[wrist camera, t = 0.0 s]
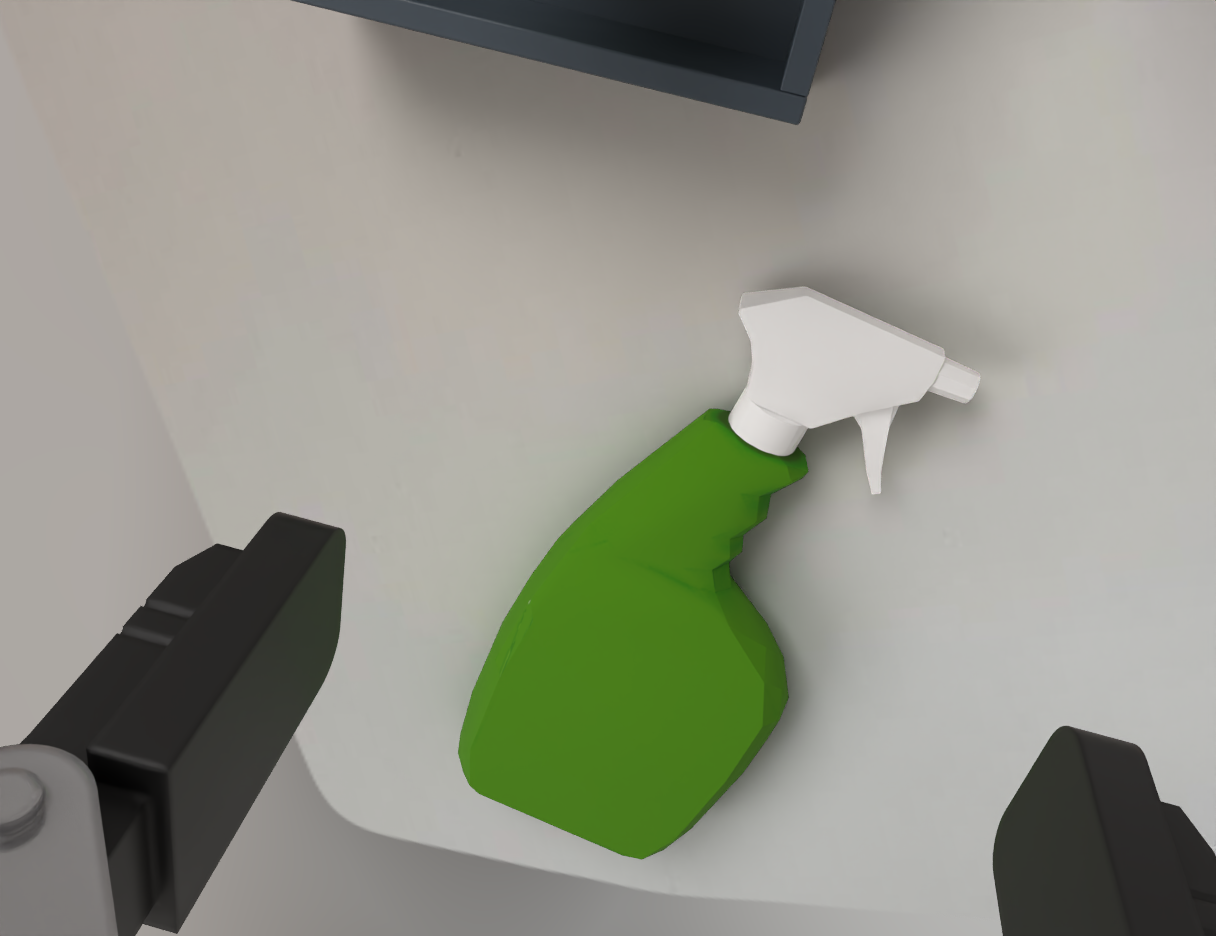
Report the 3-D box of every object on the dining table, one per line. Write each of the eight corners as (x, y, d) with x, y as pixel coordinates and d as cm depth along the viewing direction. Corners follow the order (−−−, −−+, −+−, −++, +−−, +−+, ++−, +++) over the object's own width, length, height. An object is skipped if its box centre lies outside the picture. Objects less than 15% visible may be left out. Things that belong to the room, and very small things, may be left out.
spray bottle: (449, 726, 45) (700, 217, 32) (681, 828, 46) (1018, 371, 33) (427, 778, 43) (690, 249, 30) (673, 885, 43) (1034, 415, 30)
